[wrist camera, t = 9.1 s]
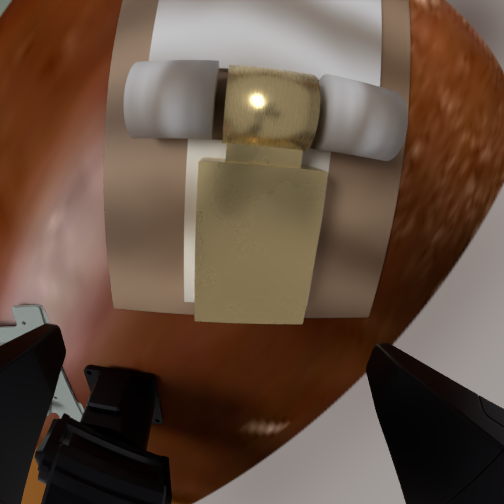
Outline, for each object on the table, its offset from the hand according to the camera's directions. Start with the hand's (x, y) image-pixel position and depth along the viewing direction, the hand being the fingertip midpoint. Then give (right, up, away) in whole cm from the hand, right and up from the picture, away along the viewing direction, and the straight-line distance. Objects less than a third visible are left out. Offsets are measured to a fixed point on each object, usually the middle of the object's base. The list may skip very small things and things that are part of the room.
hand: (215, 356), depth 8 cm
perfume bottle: (+1, +6, +9) cm, 11 cm away
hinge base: (+1, +10, +9) cm, 13 cm away
